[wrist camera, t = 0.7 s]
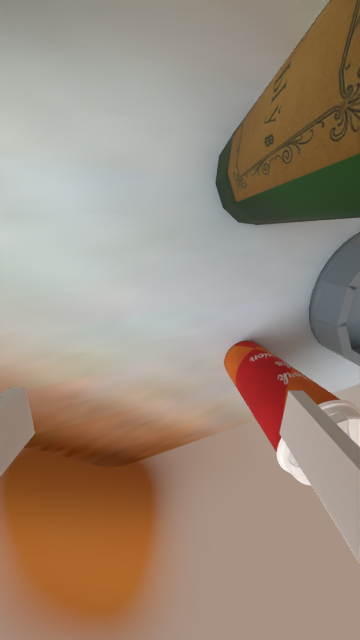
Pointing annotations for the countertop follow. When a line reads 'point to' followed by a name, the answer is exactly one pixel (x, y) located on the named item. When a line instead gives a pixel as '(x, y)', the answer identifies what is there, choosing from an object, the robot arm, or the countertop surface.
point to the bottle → (302, 132)
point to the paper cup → (282, 397)
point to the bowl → (339, 302)
